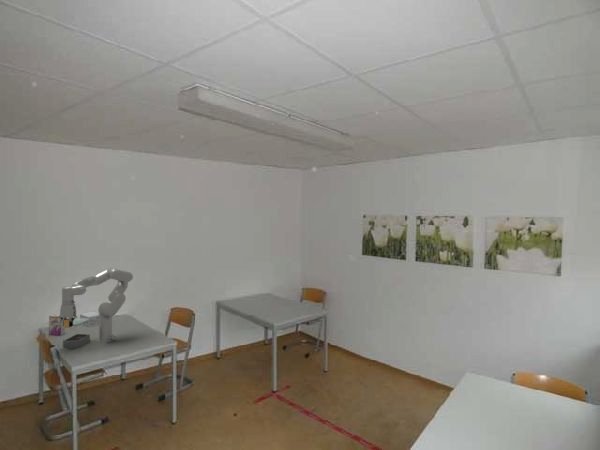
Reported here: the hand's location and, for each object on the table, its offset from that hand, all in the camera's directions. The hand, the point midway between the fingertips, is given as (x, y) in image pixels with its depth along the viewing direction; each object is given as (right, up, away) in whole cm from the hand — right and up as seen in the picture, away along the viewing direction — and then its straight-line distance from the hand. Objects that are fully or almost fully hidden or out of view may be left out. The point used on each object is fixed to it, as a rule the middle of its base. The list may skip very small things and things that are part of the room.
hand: (68, 325), depth 272 cm
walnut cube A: (0, -18, +14) cm, 23 cm away
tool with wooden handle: (0, -1, +8) cm, 8 cm away
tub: (0, -18, +11) cm, 22 cm away
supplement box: (-20, -17, +65) cm, 70 cm away
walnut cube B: (-1, -18, +8) cm, 20 cm away
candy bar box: (-31, -17, +33) cm, 49 cm away
